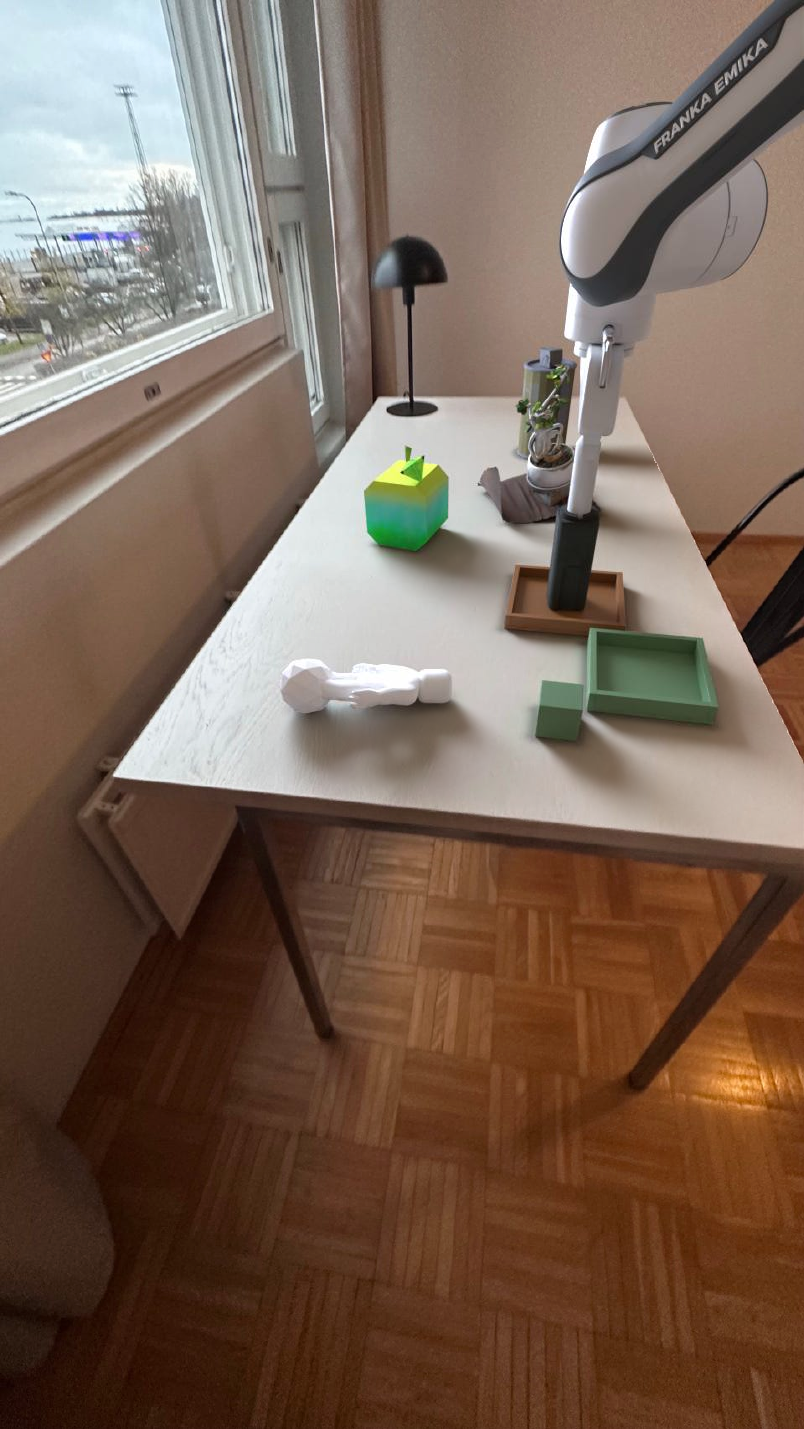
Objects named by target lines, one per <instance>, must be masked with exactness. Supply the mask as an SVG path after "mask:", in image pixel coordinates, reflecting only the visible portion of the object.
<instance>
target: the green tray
mask: <svg viewBox="0 0 804 1429" xmlns="http://www.w3.org/2000/svg"><path fill="white" fill-rule="evenodd" d="M587 637H588V638H587V643H586V694H585V695H586V696H585V700H586V701H585V710H586V711H587V712H596V713H597V712H598V713H604V714H605V713H606V714H614V715H622V716H632V717H640V718H647V719H648V718H649V719H656V720H657V719H658V720H666V721H673V722H682V723H683V722H684V723H692V724H701V725H709V726H712V725H713V724H714V720H715V718H716V715H717V713H718V710H719V703H718V699H717V694H716V689H715V686H714V681H713V678H712V677H713V676H712V672H711V668H710V667H711V666H710V664H709V659H708V654H707V651H706V646H705V641H704V637H696V636H687V635H686V636H685V635H674V634H665V633H654V632H644V631H643V632H642V631H641V632H640V631H631V630H625V631H621V630H609V629H598V628H597V629H596V628H590V632H589V636H587Z"/></svg>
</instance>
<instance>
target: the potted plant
mask: <svg viewBox="0 0 804 1429" xmlns="http://www.w3.org/2000/svg"><path fill="white" fill-rule="evenodd" d="M556 369H557V370H556V372H555V373H554V372H553V371H551V373H550V375H551V376H550V375H547V379H548V380H553V381H554V384H555V389H554V391H553V392H552V393H551V395H550V396H549V397H548V399H547V400H545V402H544V403H543V405H542V406H541V407H540V405H541V403H540V402H537V403H536V404H535V406H534V407H533V408H532V404H529V406H526V405H527V404H528V403H529V400H528V399H525V401H523V400H522V399H520V400H519V401H518V402H517V403H516V404H515V405H514V407H515V408H516V412H517V414H520V415H521V414H522V415H525V414H526V413H527V408H528V409H529V418H527V419H526V421H525V422H526V424H527V425H528V426H527V427H526V428H525V430H524V431H525V432H526V433H527V432H529V431H531V432H532V434H533V435H532V436H531V438H530V440H529V444H528V450H529V452H530V455H529V458H528V459H527V466H526V472H527V473H523V474H519V475H516V476H512V477H509V478H506V479H504V480H501V477H500V476H501V475H500V471H499V468H498V467H497V466H492V467H487V468H486V470H484V471H483V472H482V474H481V476H480V479H479V482H477V486H478V487H483V488H484V490H485V491H486V493H487V494H488V495H489V497H490V498H491V500H492V501H493V503H494V505H495V507H496V509H497V511H498V512H499V514H500V516H501V519H502V521H503V522H505V523H507V524H509V523H512V524H516V525H518V524H527V523H528V524H529V523H533V522H538V521H541V520H542V519H543V520H547V519H549V518H550V517H552V518H553V517H556V515H557V510H558V509H559V508H561V507H562V506H563V505H565V504H568V500H569V493H570V486H571V478H572V471H573V464H574V456H575V449H574V448H573V447H572V446H571V445H568V444H561V443H562V442H563V437H562V432H563V425H562V424H560V423H557V424H554V425H553V422H551V420H552V421H554V422H555V423H556V418H555V416H554V415H553V414H554V412H555V411H556V410H557V409H558V410H560V411H561V407H562V406H563V405H564V403H565V404H566V403H568V402H569V399H568V398H566V397H563V398H561V399H559V398H560V397H559V395H556V396H554V393H555V392H556V390H559V387H560V385H561V383H562V382H563V380H564V378H566V384H567V383H569V376H568V375H567V371H568V370H569V366H567V367H565V365H564V364H563V365H562V366H561V367H558V368H556ZM558 369H559V370H558ZM562 373H564V374H562ZM559 375H560V376H559ZM556 398H557V399H558V400H559V402H558V404H556V401H555V402H554V404H553V405H550V406H549V407H548V410H546V411H545V410H543V408H545V407H546V404H547V403H548V402H549V400H550V399H556ZM562 403H563V404H562ZM535 407H536V410H535ZM539 407H540V409H539ZM537 409H538V410H537ZM533 411H534V412H535V414H534V415H533ZM541 412H543V413H541ZM551 412H552V414H551ZM540 413H541V414H540ZM548 413H550V414H548ZM544 414H545V416H546V417H542V416H543V415H544ZM549 415H550V416H549ZM550 417H551V419H550V420H548V419H549V418H550ZM536 419H537V421H536ZM542 426H544V427H542ZM545 427H546V428H545ZM552 429H560V432H559V431H558V430H552ZM550 430H552V431H550ZM557 435H558V438H557V443H551V440H550V439H554V438H555V437H557ZM533 443H534V450H533V449H532V446H533ZM592 505H593V506H594V507H596V508H597V511H602V509H601V507H600V506H599V505H598V504H597V502H596V501H595V500H594V498H593V499H592Z"/></svg>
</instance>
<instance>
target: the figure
mask: <svg viewBox="0 0 804 1429" xmlns="http://www.w3.org/2000/svg"><path fill="white" fill-rule="evenodd" d="M352 669H353V670H351V671H350V672H347V673H343V672H342V673H339V672H334V671H332V670H331V669H330V668H329V667H328V666H327V665H326V664H325V663H324V662H323V661H322V660H320V659H314V658H313V659H312V658H302V659H298V660H293V661H291V662H290V663H289V664H288V666H287V667H286V668H285V669H284V670H283V672H282V673H281V676H280V680H279V684H278V687H279V690H280V694H281V697H282V701H283V702H284V703H285V704H287V705H288V706H289V707H290V708H291V709H292V710H293V711H294V712H299V713H304V714H309V713H314V712H318V711H319V712H320V711H323V710H324V709H325V707H326V706H327V705H328V704H329V703H330V701H339V702H349V706H350V707H351V708H353V709H355V710H366V709H369V708H372V707H375V706H377V705H382V706H388V705H396V706H406V707H407V706H410V705H413V704H414V703H416V701H417V699H418V700H419V701H420V702H421V703H423V704H445V703H447V702H449V700H451V698H452V693H453V679H452V675H451V673H450V672H449V671H448V670H446V669H438V668H437V669H433V668H432V669H431V668H429V669H427V668H425V669H422V670H421V671H419V672H418V671H416V670H414V669H412V668H410V667H407V666H403V665H402V666H401V665H393V664H387V663H386V664H384V663H383V664H378V665H376V664H370V663H365V662H363V663H358V664H355V665H354V666H353V667H352Z"/></svg>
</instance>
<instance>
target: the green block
mask: <svg viewBox="0 0 804 1429" xmlns="http://www.w3.org/2000/svg"><path fill="white" fill-rule="evenodd" d="M583 711H584V684H582V683H573V682H563V681H554V680H545V679H542V680H541V684H540V689H539V698H538V704H537V711H536V712H537V713H536V720H535V721H536V722H535V733H534V736H535V737H539V738H546V739H553V740H562V741H571V742H577V740H578V736H579V732H580V727H581V721H582V716H583Z"/></svg>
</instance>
